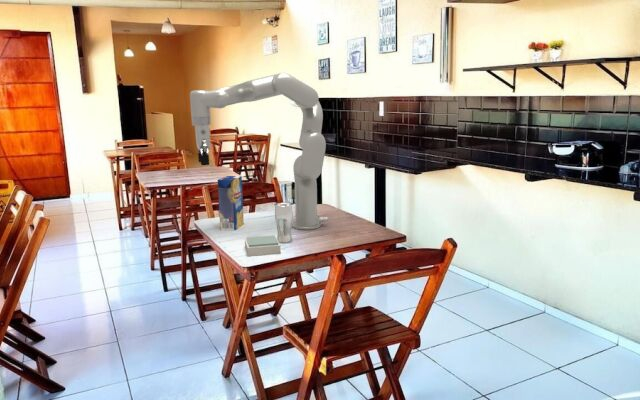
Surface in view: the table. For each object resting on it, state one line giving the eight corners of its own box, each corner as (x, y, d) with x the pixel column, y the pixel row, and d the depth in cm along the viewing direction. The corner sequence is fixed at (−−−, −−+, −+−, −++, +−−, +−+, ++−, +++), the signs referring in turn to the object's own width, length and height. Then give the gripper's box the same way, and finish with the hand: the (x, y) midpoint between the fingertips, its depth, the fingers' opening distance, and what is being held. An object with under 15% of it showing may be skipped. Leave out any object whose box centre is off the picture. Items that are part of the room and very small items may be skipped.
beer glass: (286, 244, 206) (285, 207, 203) (272, 242, 209) (271, 205, 206) (296, 240, 211) (295, 203, 208) (282, 237, 215) (281, 201, 212)
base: (275, 244, 206) (275, 234, 205) (280, 253, 194) (280, 243, 193) (245, 246, 203) (244, 236, 202) (247, 256, 192) (247, 245, 191)
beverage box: (243, 224, 238) (241, 176, 233) (235, 230, 227) (232, 180, 223) (229, 223, 239) (227, 175, 234) (220, 229, 228) (217, 179, 224)
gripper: (213, 122, 205) (215, 165, 209) (208, 120, 221) (210, 160, 225) (193, 122, 203) (196, 166, 206) (190, 120, 219) (192, 161, 222)
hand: (203, 163), depth 215 cm, fingers open, 9 cm apart
